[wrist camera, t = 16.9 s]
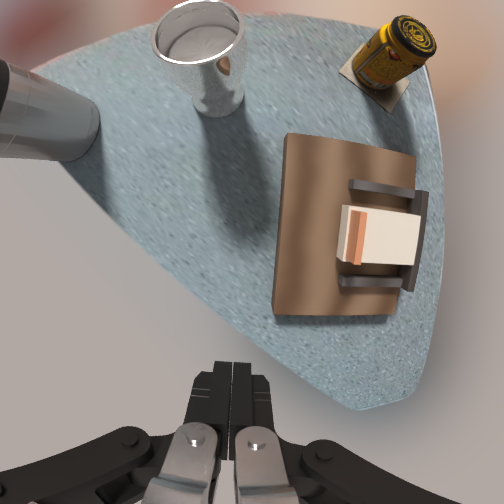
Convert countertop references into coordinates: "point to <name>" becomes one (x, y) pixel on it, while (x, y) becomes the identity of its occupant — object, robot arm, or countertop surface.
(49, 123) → the robot arm
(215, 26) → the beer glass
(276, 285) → the dock
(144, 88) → the countertop surface
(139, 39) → the countertop surface
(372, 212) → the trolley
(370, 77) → the condiment
